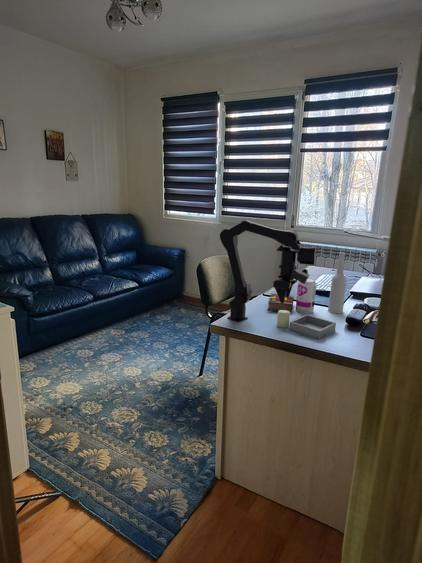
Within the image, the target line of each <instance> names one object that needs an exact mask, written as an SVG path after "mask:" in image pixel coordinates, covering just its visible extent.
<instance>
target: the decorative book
mask: <svg viewBox="0 0 422 563" xmlns="http://www.w3.org/2000/svg"><path fill="white" fill-rule="evenodd" d="M293 308H294V295H289V297H286V296H285V300H284V303H281V302H280V300H279V297H278V294H277V293H270V296H269V300H268V308H267V311H269V312H278V311H279V310H286V311H289V312H290V313H292V312H293V310H294V309H293Z"/></svg>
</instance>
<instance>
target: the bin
mask: <svg viewBox="0 0 422 563" xmlns="http://www.w3.org/2000/svg"><path fill="white" fill-rule="evenodd" d="M336 325H337V323H336V322H335V321H330V320H328V319H324V318H320V317H317V316H314V315H310V314H305V315H303V316H301V317H297V318H295V319H293V320H291V321H289V327H288V329H289V331H291V332H295V333H296V334H300V335H302V336H303V335H304V336H307V337H309V338H312V339H315V340H321V339H323V338H325V337H327V336H329V335H331V334H332V333H334V332H336V329H337V328H336Z"/></svg>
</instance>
